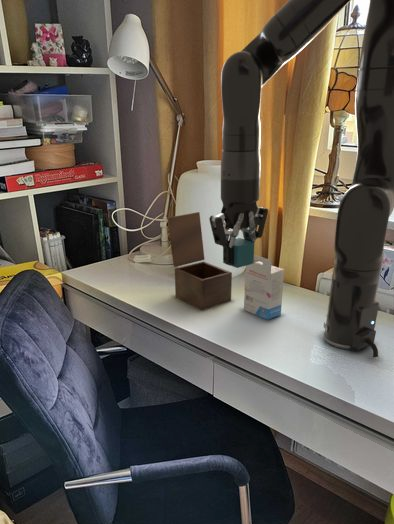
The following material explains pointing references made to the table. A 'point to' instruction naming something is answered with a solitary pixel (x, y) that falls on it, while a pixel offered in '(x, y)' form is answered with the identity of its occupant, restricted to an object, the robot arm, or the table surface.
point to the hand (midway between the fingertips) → (238, 261)
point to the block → (243, 253)
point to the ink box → (263, 288)
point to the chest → (203, 285)
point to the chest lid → (186, 239)
